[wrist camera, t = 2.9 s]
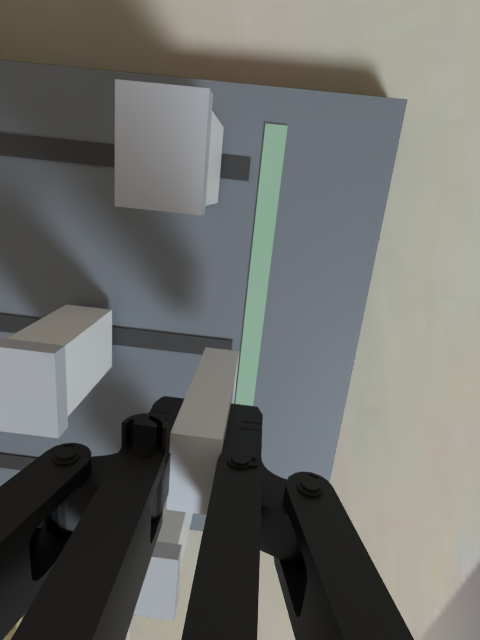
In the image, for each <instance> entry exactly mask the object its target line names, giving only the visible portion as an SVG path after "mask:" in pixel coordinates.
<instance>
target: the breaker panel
mask: <svg viewBox="0 0 480 640" xmlns="http://www.w3.org/2000/svg"><path fill="white" fill-rule="evenodd" d="M115 79H119V80H129V81H139V82H150V83H160V84H170V85H180V86H191V87H201V88H210V90H211V92H212V93H213V104H212V111H213V112H214V114H215V115H216V117H217V118H218V120H219V121H220V123H221V124H222V126H223V127H224V131H223V144H222V156H221V169H220V182H219V194H218V203H215V204H211V205H207V206H205V214H204V215H192V214H183V213H173V212H164V211H154V210H145V209H136V208H126V207H117V206H115ZM406 104H407V99H397V98H387V97H377V96H367V95H356V94H346V93H336V92H325V91H315V90H305V89H295V88H284V87H274V86H264V85H253V84H243V83H233V82H223V81H212V80H202V79H192V78H181V77H171V76H161V75H151V74H140V73H130V72H120V71H109V70H99V69H89V68H79V67H68V66H58V65H48V64H37V63H27V62H17V61H7V60H0V338H4V339H6V338H8V337H10V336H12V335H13V334H15V333H17V332H19V331H20V330H22V329H24V328H26V327H27V326H29V325H31V324H33V323H34V322H36V321H38V320H40V319H41V318H43V317H45V316H47V315H49V314H50V313H52V312H54V311H56V310H57V309H59V308H61V307H63V306H64V305H75V306H84V307H92V308H101V309H110V310H112V367H111V368H110V369H109V370H108V372H107V373H106V374H105V375H104V376H103V377H102V378H101V380H100V381H99V382H98V383H97V384H96V385H95V386H94V388H93V389H92V390H91V391H90V392H89V393H88V394H87V396H86V397H85V398H84V399H83V400H82V401H81V402H80V403H79V405H78V406H77V407H76V408H75V409H74V410H73V411H72V413H71V414H70V415H69V416H68V428H67V429H66V430H65V431H64V432H63V434H62V435H61V436H60V437H59V438H51V437H43V436H35V435H27V434H19V433H10V432H2V431H0V486H1V485H3V484H4V483H5V482H7V481H8V480H9V479H11V478H12V477H13V476H15V475H16V474H17V473H18V472H20V471H21V470H22V469H24V468H25V467H26V466H28V465H29V464H30V463H32V462H33V461H34V460H35V459H37V458H38V457H39V456H41V455H42V454H43V453H45V452H46V451H47V450H49V449H51V448H53V447H54V446H57V445H61V444H64V443H79V444H83V445H85V446H87V447H88V448H89V449H90V451H91V457H92V456H103V455H110V454H115V453H118V452H119V450H120V449H121V445H122V422H123V421H124V420H125V419H126V418H128V417H130V416H132V415H136V414H141V413H149V412H150V410H151V408H152V406H153V404H154V402H156V401H157V400H159V399H160V398H161V397H163V396H168V397H176V398H184V399H185V396H186V394H187V391H188V389H189V386H190V384H191V382H192V379H193V377H194V374H195V372H196V369H197V367H198V365H199V362H200V360H201V357H202V355H203V352H204V350H205V348H206V347H208V348H216V349H225V350H233V351H239V361H238V370H237V379H236V389H235V398H234V404H241V405H249V406H257V407H258V408H259V410H260V411H261V413H262V414H263V423H262V452H261V458H262V462H263V464H264V466H265V467H266V468H267V469H268V470H269V471H270V472H272V473H273V474H275V475H277V476H279V477H282V478H284V479H288V477H289V476H291V475H292V474H294V473H297V472H302V471H303V472H312V473H315V474H317V475H320V476H322V477H323V478H325V479H326V480H328V482H330V477H331V472H332V467H333V462H334V457H335V452H336V448H337V443H338V438H339V433H340V428H341V423H342V418H343V413H344V408H345V403H346V398H347V394H348V389H349V384H350V379H351V374H352V369H353V364H354V359H355V354H356V349H357V344H358V339H359V335H360V330H361V325H362V320H363V315H364V310H365V305H366V300H367V295H368V290H369V285H370V281H371V276H372V271H373V266H374V261H375V256H376V251H377V246H378V241H379V236H380V231H381V227H382V222H383V217H384V212H385V207H386V202H387V197H388V192H389V187H390V182H391V177H392V173H393V168H394V163H395V158H396V153H397V148H398V143H399V138H400V133H401V128H402V123H403V119H404V114H405V109H406ZM205 520H206V515H203V514H195V513H193V516H192V520H191V525H190V530H198V531H203V530H204V525H205Z"/></svg>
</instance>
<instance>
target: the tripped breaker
mask: <svg viewBox="0 0 480 640" xmlns="http://www.w3.org/2000/svg"><path fill="white" fill-rule="evenodd" d="M111 367H112V310H110V309H101V308H92V307H84V306H75V305H64V306H63V307H61V308H59V309H57V310H56V311H54V312H52V313H50V314H49V315H47V316H45V317H43V318H41V319H40V320H38V321H36V322H34V323H33V324H31V325H29V326H27V327H26V328H24V329H22V330H20V331H19V332H17V333H15V334H13V335H12V336H10V337H8V338H6V339H4V338H0V431H2V432H10V433H19V434H27V435H35V436H43V437H51V438H59V437H60V436H61V435H62V434H63V432H64V431H65V430H66V429H67V428H68V416H69V415H70V414H71V413H72V411H73V410H74V409H75V408H76V407H77V406H78V405H79V403H80V402H81V401H82V400H83V399H84V398H85V397H86V396H87V394H88V393H89V392H90V391H91V390H92V389H93V388H94V386H95V385H96V384H97V383H98V382H99V381H100V380H101V378H102V377H103V376H104V375H105V374H106V373H107V372H108V370H109V369H110V368H111Z"/></svg>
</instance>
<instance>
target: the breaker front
mask: <svg viewBox="0 0 480 640" xmlns="http://www.w3.org/2000/svg"><path fill="white" fill-rule="evenodd" d="M212 104H213V93H212V92H211V90H210V88H201V87H191V86H180V85H170V84H160V83H150V82H139V81H129V80H119V79H115V206H117V207H126V208H136V209H145V210H154V211H164V212H173V213H183V214H192V215H204V214H205V206H207V205H211V204H215V203H218V194H219V182H220V169H221V156H222V144H223V131H224V127H223V126H222V124H221V123H220V121H219V120H218V118H217V117H216V115H215V114H214V112H213V111H212Z"/></svg>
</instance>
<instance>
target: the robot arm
mask: <svg viewBox="0 0 480 640" xmlns="http://www.w3.org/2000/svg"><path fill="white" fill-rule="evenodd" d="M238 361H239V351H233V350H225V349H216V348H208V347H206V348H205V350H204V352H203V355H202V357H201V360H200V362H199V365H198V367H197V369H196V372H195V374H194V377H193V379H192V382H191V384H190V386H189V389H188V391H187V394H186V396H185V399H184V398H176V397H168V396H163V397H161V398H160V399H159V400H157V401H156V402H154V404H153V406H152V408H151V410H150V412H149V413H141V414H136V415H132V416H130V417H128V418H126V419H125V420H124V421H123V422H122V445H121V449H120V450H119V452H118V453H115V454H110V455H103V456H92V457H91V451H90V449H89V448H88V447H87V446H85V445H83V444H79V443H64V444H61V445H57V446H54V447H53V448H51V449H49V450H47V451H46V452H45V453H43V454H42V455H41V456H39V457H38V458H37V459H35V460H34V461H33V462H32V463H30V464H29V465H28V466H26V467H25V468H24V469H22V470H21V471H20V472H18V473H17V474H16V475H15V476H13V477H12V478H11V479H9V480H8V481H7V482H5V483H4V484H3V485H1V486H0V640H3V639H4V637H5V636H6V635H7V634H8V633H9V632H10V630H11V629H12V628H13V627H14V626H15V624H16V623H17V622H18V621H19V620H20V619H21V617H22V616H23V615H24V614H25V613H26V614H25V616H24V618H23V619H22V621H21V623H20V625H19V626H18V628H17V630H16V632H15V633H14V635H13V637H12V639H11V640H125V638H126V635H127V632H128V629H129V626H130V623H131V620H132V616H133V613H134V610H135V607H136V604H137V601H138V598H139V595H140V592H141V588H142V585H143V582H144V579H145V576H146V573H147V570H148V567H149V563H150V560H151V557H152V554H153V551H154V548H155V545H156V542H157V538H158V535H159V532H160V529H161V526H162V521H163V508H164V505H165V502H166V499H167V507H166V510H173V511H181V512H188V513H195V514H203V515H206V520H205V525H204V530H203V535H202V540H201V545H200V550H199V555H198V560H197V565H196V570H195V574H194V579H193V584H192V589H191V594H190V599H189V604H188V609H187V614H186V619H185V624H184V629H183V634H182V639H181V640H257V623H258V592H259V561H260V550H261V551H263V552H265V553H267V554H270V555H272V556H274V563H275V567H276V570H277V574H278V577H279V581H280V585H281V588H282V592H283V596H284V599H285V603H286V607H287V610H288V614H289V618H290V621H291V625H292V629H293V632H294V636H295V639H296V640H414V639H413V637H412V635H411V633H410V631H409V629H408V627H407V626H406V624H405V622H404V620H403V618H402V616H401V614H400V612H399V611H398V609H397V607H396V605H395V603H394V601H393V599H392V597H391V595H390V594H389V592H388V590H387V588H386V586H385V584H384V582H383V580H382V579H381V577H380V575H379V573H378V571H377V569H376V567H375V565H374V563H373V562H372V560H371V558H370V556H369V554H368V552H367V550H366V548H365V547H364V545H363V543H362V541H361V539H360V537H359V535H358V533H357V531H356V530H355V528H354V526H353V524H352V522H351V520H350V518H349V516H348V515H347V513H346V511H345V509H344V507H343V505H342V503H341V501H340V499H339V498H338V496H337V494H336V492H335V490H334V488H333V487H332V485H331V484H330V483H329V482H328V480H326V479H325V478H323V477H322V476H320V475H317V474H315V473H312V472H303V471H302V472H297V473H294V474H292V475H291V476H289V477H288V479H284V478H282V477H279V476H277V475H275V474H273V473H272V472H270V471H269V470H268V469H267V468H266V467H265V466H264V464H263V462H262V458H261V452H262V423H263V414H262V413H261V411H260V410H259V408H258V407H257V406H249V405H241V404H234V398H235V389H236V379H237V370H238ZM27 610H28V611H27ZM26 611H27V612H26Z"/></svg>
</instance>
